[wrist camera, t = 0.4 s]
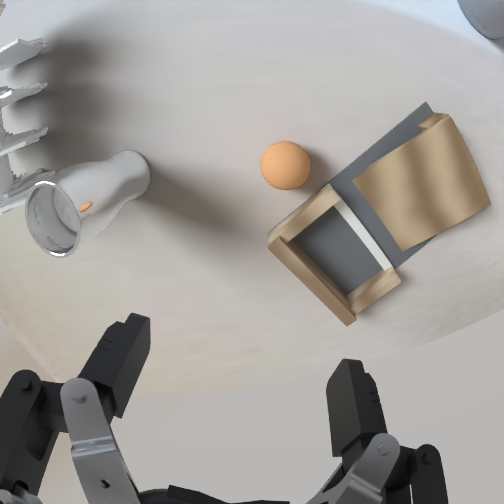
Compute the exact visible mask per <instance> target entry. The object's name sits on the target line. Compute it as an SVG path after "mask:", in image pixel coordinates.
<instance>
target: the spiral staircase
mask: <svg viewBox="0 0 504 504" xmlns="http://www.w3.org/2000/svg"><path fill="white" fill-rule="evenodd" d="M4 8H5V4H1V5H0V16H1V14H2V12H3V10H4ZM46 47H47V44H42V38H39V39H35V40H32V41H24V40H21V39H17V40H15V41H13V42H11V43H9V44H8V45H6V46H4V47H3V48H1V49H0V71H1V70H4V69H6V68H9V67H12V66H15V65H17V64H19V63H21V62H23V61H25V60H27V59H29V58H33V57H35V56H36V55H37V54H38V53H40V52H41V51H42V50H43V49H45V48H46ZM46 86H48V85H47V82H46V83H42V84H40V83H39V82H37V83H34V84H31V85H28V86H25V87H23V88H20V89H12V88H8V87H7V86H5V87H0V215H2V214H5V213H7V212H9V211H11V210H12V209H14V208H15V207H18V206H21V205H24V204H25V202H26V198H27V195H28V193H29V191H30V189H31V188H32V187H33V186H34V185H35V184H36V183H38V182H41V181H43V180H44V179H46V178H47V177H49V176H51V175H53V174H54V173H55V170H53V171H48V172H44V173H41V172H43V171H42V169H39V170H36V171H33V172H31V173H28V174H25V175H23V176H22V173H20V174H18V175H16V174H15V175H12V174H13V171H11V167H10V162H9V158H8V153H11V152H13V151H15V150H17V149H20V148H22V147H25V146H27V145H29V144H32V143H34V142H37V141H40V140H39V137H42V136H44V135H45V134H46V131H48V127H46V128H43V129H40V130H37V131H34V130H31V131H27V132H23V133H19V134H15V135H13V133H11V134H9V132H6V131H5V129H4V128H3V121H2V112H1V108H2V107H4V106H6V105H8V104H10V103H11V102H13V101H17V100H20V99H22V98H24V97H26V96H30V95H34V94H36V93H38V92H39V91H41V90H42V89H43V88H45V87H46ZM39 173H40V174H39Z"/></svg>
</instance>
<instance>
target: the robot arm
mask: <svg viewBox="0 0 504 504" xmlns="http://www.w3.org/2000/svg"><path fill="white" fill-rule="evenodd" d="M458 2H459V5H460V7H461V9H462V11H463V13H464V14H465V16H466V18H467V19H468V20H469V22H470V23H471V24H472V25H473V26H474V27H475V28H476V29H477V30H478V31H479V32H480V33H481V34H482V35H484V36H486V37H488V38H490V39H503V38H504V0H458ZM149 350H150V318H149V317H145V316H142V315H139V314H135V313H131V314H130V315H129V317H128V318H127V320H126V322H125V323H121V322H118V321H117V322H115V323H114V324H113V325H111V326H110V327H108V328H107V330H106V331H105V333H104V334H103V336H102V339H100V341H99V342H98V344H97V347H95V349H94V351H93V352H92V354H91V356H90V357H89V359H88V361H87V362H86V364H85V366H84V368H83V369H82V371H81V373H80V374H79V376H78V377H77V378H73V379H70V380H68V381H67V382H66V383H54V382H47V381H41V380H40V378H39V376H38V375H37V374H36V373H35V372H33V371H31V370H21V371H18V372H16V373H15V374H14V375H13V376H12V378H11V380H10V381H9V383H8V385H7V387H6V389H5V390H4V392H3V394H2V396H1V398H0V504H43V503H42V502H41V500H40V499H39V498H38V497H37V495H38V492H39V488H40V485H41V482H42V478H43V476H44V472H45V470H46V467H47V464H48V461H49V458H50V455H51V452H52V450H53V447H54V444H55V442H56V439H57V437H58V434H59V432H66V433H69V436H70V439H71V443H72V448H71V455H72V459H73V462H74V465H75V468H76V471H77V474H78V477H79V479H80V482H81V485H82V488H83V490H84V493H85V495H86V498H87V500H88V503H89V504H290V502H287V501H267V500H266V501H265V500H259V501H251V502H242V503H226V502H223V501H221V500H219V499H216V498H213V497H211V496H208V495H206V494H204V493H201V492H199V491H193V490H189V489H184V488H180V487H176V486H172V485H169V488H168V489H153V490H147V491H144V492H140V493H139V491H138V489H137V487H136V485H135V483H134V481H133V479H132V476H131V474H130V472H129V470H128V468H127V466H126V464H125V462H124V459H123V457H122V455H121V452H120V450H119V447H118V445H117V443H116V440H115V437H114V435H113V432H112V429H111V426H110V423H111V421H112V419H113V416H116V417H118V418H122V416H123V413H124V411H125V408H126V406H127V404H128V401H129V399H130V396H131V394H132V391H133V389H134V387H135V384H136V382H137V380H138V377H139V375H140V373H141V370H142V368H143V366H144V363H145V361H146V359H147V356H148V354H149ZM326 395H327V403H328V412H329V422H330V432H331V443H332V454H333V457H342V463H340V465H339V466H338V467H337V469H336V470H335V471H334V473H333V474H332V475H331V477H330V478H329V479H328V481H327V482H326V483H325V484H324V486H323V487H322V488H321V490H320V491H319V492H318V493H317V494H316V495H315V496H314V497H313V498H312V499H311V500H309V501H308V502H307V503H306V504H411V493H410V485H411V488H412V498H413V504H448V497H447V490H446V484H445V478H444V473H443V467H442V463H441V457H440V454H439V452H438V450H437V449H436V448H435V447H434V446H432V445H429V444H424V445H422V446H420V447H419V448H418V449H412V448H407V447H404V446H400V445H399V443H398V441H397V440H396V438H394V437H393V436H392V435H390V434H388V432H387V428H386V424H385V419H384V415H383V411H382V407H381V403H380V399H379V395H378V391H377V387H376V383H375V381H374V380H373V378H372V377H371V375H370V374H369V373H365V371H364V368H363V364H362V362H361V361H360V360H352V359H343V360H342V361H341V362H340V364H339V365H338V367H337V368H336V370H335V371H334V373H333V374H332V376H331V377H330V379H329V381H328V383H327V388H326Z"/></svg>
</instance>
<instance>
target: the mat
mask: <svg viewBox="0 0 504 504" xmlns="http://www.w3.org/2000/svg"><path fill="white" fill-rule="evenodd" d="M432 113H433V112H432V110H431V109H430V107H429V106H428V104H427V103H426V102H425V103H424V104H422V105H421V106H420V107H419V108H418V109H416V110H415V111H414V112H413V113H412V114H410V115H409V116H408V117H407V118H405V119H404V120H403V121H402V122H401V123H399V124H398V125H397V126H396V127H395V128H393V129H392V130H391V131H390V132H389V133H387V134H386V135H385V136H384V137H383V138H381V139H380V140H379V141H378V142H376V143H375V144H374V145H373V146H372V147H370V148H369V149H368V150H367V151H366V152H364V153H363V154H362V155H361V156H360V157H358V158H357V159H356V160H355V161H354V162H352V163H351V164H350V165H349V166H348V167H346V168H345V169H344V170H343V171H342V172H340V173H339V174H338V175H337V176H336V177H334V178H333V179H332V180H331V181H330V182H328V183H327V184H326V185H325V186H324V187H322V188H321V189H320V190H321V191H322V190H323V189H325V188H326V187H327V186H328V185H330V187H331V188H332V189H333V190H334V191H335V193H336V194H337V195H338V197H339V198H340V200H339V201H338V202H337V203H335V204H334V205H333V206H332V207H330V208H329V209H328V210H327V211H326V212H324V213H323V214H322V215H321V216H319V217H318V218H317V219H316V220H314V221H313V222H312V223H311V224H310V225H308V226H307V227H306V228H305V229H303V230H302V231H301V232H300V233H298V234H297V235H296V236H295V237H294V238H292V239H293V240H294V241H295V242H296V243H297V244H298V245H299V246H300V247H301V248H302V249H303V250H304V251H305V252H306V254H307V255H308V256H309V257H310V258H311V259H312V260H313V261H314V262H315V263H316V264H317V265H318V266H319V267H320V268H321V269H322V271H323V272H324V273H325V274H326V275H327V276H328V277H329V278H330V279H331V280H332V281H333V282H334V283H335V285H336V286H337V287H338V288H339V289H340V290H341V291H342V292H343V293H344V294H345V295H346V296H347V295H348V294H350V293H351V292H352V291H354V290H355V289H357V288H358V287H359V286H361V285H362V284H364V283H365V282H366V281H368V280H369V279H370V278H372V277H373V276H374V275H376V274H377V273H378V272H380V271H381V270H382V269H384V271H385V270H387V269H388V268H389V267H391V266H392V268H393V269H394V271H395V268H396V267H398V266H399V265H400V264H402V263H403V262H404V261H405V260H407V259H408V258H409V257H410V256H412V255H413V254H414V253H415V252H417V251H418V250H419V249H420V248H421V247H423V246H424V245H425V244H426V243H427V242H429V241H430V240H431V239H432V238H433V237H435V236H436V235H437V234H436V235H434V236H432V237H431V238H429V239H427V240H425V241H423V242H421V243H419V244H417V245H415V246H413V247H411V248H409V249H407V250H405V251H403V252H402V250H401V249H400V247H399V246H398V244H397V243H396V241H395V240H394V238H393V237H392V235H391V234H390V232H389V231H388V229H387V228H386V226H385V225H384V224H383V222H382V221H381V219H380V218H379V216H378V215H377V214H376V212H375V211H374V210H373V208H372V207H371V205H370V204H369V203H368V201H367V200H366V199H365V197H364V196H363V195H362V193H361V192H360V191H359V189H358V188H357V187H356V186H355V184H354V183H353V182H352V180H353V179H354V178H355V177H357V176H358V175H359V174H360V173H361V172H363V171H364V170H365V169H366V168H367V167H369V166H370V165H371V164H373V163H374V162H376V161H377V160H379V159H381V158H382V157H384V156H385V155H387V154H388V153H390V152H392V151H393V150H395V149H396V148H398V147H399V146H401V145H403V144H404V143H406V142H407V141H409V140H411V139H412V138H414V137H415V136H417V135H418V134H420V133H421V131H420V130H419V128H418V127H417V126H418V125H419V124H420V123H421V122H422V121H424V120H425V119H426V118H427V117H428V116H429V115H431V114H432ZM320 190H319V191H320ZM319 191H318V192H319ZM316 193H317V192H316ZM316 193H315V194H316ZM315 194H314V195H315ZM314 195H313V196H314ZM313 196H312V197H313ZM310 198H311V197H310ZM310 198H309V199H310ZM309 199H308V200H309ZM308 200H307V201H308ZM307 201H306V202H307ZM303 204H304V203H303ZM303 204H302V205H303ZM302 205H301V206H302ZM301 206H300V207H301ZM297 209H298V208H297ZM297 209H296V210H297ZM296 210H295V211H296ZM295 211H294V212H295ZM291 214H292V213H291ZM291 214H290V215H291ZM290 215H289V216H290ZM289 216H288V217H289ZM285 219H286V218H285ZM285 219H284V220H285ZM284 220H283V221H284ZM283 221H282V222H283ZM279 224H280V223H279ZM279 224H278V225H279ZM278 225H277V226H278ZM277 226H276V227H277ZM273 229H274V228H273ZM273 229H272V230H273ZM272 230H271V231H272ZM271 231H270V232H271ZM270 232H269V233H270ZM395 272H396V271H395Z"/></svg>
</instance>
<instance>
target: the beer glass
mask: <svg viewBox="0 0 504 504" xmlns="http://www.w3.org/2000/svg"><path fill="white" fill-rule="evenodd" d="M149 183H150V169H149V166H148V164H147V162H146V160H145V159H144V158H143V157H142V156H141V155H140V154H138V153H136V152H134V151H122V152H119V153H117V154H116V155H114V156H113V157H112V158H111V159H109V160H107V161H93V162H85V163H79V164H75V165H73V166H70V167H67V168H65V169H62V170H60V171H58V172H56V173H54V174H53V175H51V176H49V177H47V178H46V179H44V180H43V181H41V182H38V183H36V184H35V185H34V186H33V187H32V188H31V189H30V191H29V193H28V195H27V198H26V202H25V218H26V222H27V226H28V229H29V231H30V233H31V235H32V237H33V239H34V240H35V242H36V243H37V244H38V245H39V247H40V248H41V249H43V250H44V251H45V252H46V253H48V254H50V255H52V256H54V257H59V258H63V257H67V256H70V255H71V254H73V253H74V252H75V251H76V250H77V249H79V248H80V247H82V246H83V245H85V244H86V243H88V242H89V241H90V240H92V239H93V238H94V237H95V236H97V235H98V234H99V233H100V232H101V231H102V230H103V229H105V228H106V227H107V226H108V225H109V223H110V222H111V221H112V220H113V219H114V217H115V216H116V215H117V213H118V212H119V211H120V209H121V208H122V206H123V205H124V204H125V203H126V202H127V201H129V200H132V199H135V198H138V197H139V196H141V195H142V194H143V193H144V192H145V191H146V189H147V188H148V186H149Z"/></svg>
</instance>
